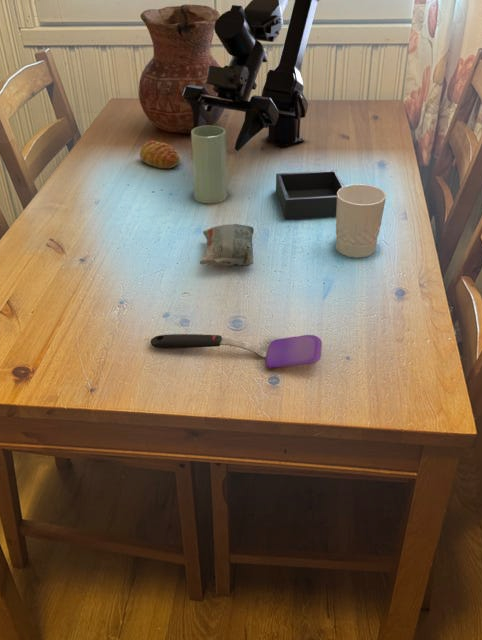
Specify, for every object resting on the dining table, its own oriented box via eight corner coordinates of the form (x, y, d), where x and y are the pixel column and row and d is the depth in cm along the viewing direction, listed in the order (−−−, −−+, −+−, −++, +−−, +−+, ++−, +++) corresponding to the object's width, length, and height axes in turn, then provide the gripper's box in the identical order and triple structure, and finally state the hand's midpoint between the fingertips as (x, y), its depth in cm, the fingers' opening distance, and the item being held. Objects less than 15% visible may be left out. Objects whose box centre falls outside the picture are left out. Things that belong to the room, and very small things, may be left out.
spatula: (145, 359, 95) (143, 344, 94) (157, 330, 100) (156, 316, 99) (318, 376, 92) (320, 362, 90) (322, 346, 97) (323, 331, 95)
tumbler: (215, 186, 139) (213, 122, 131) (233, 198, 135) (232, 132, 127) (188, 194, 136) (184, 129, 128) (205, 206, 132) (202, 140, 124)
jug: (227, 140, 159) (225, 22, 143) (137, 141, 159) (125, 24, 144) (228, 108, 176) (226, 0, 161) (146, 109, 177) (137, 1, 161)
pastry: (188, 164, 148) (187, 146, 146) (164, 173, 145) (163, 156, 142) (160, 152, 154) (158, 136, 151) (136, 161, 150) (134, 144, 148)
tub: (275, 192, 136) (276, 173, 134) (334, 189, 137) (336, 170, 134) (284, 220, 127) (285, 200, 125) (348, 216, 128) (350, 196, 125)
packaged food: (200, 275, 112) (199, 249, 109) (203, 240, 121) (203, 215, 118) (253, 276, 112) (254, 249, 109) (253, 241, 121) (253, 215, 118)
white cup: (382, 241, 120) (389, 187, 114) (374, 263, 114) (381, 207, 108) (337, 234, 122) (342, 181, 116) (327, 256, 116) (332, 201, 110)
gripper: (184, 40, 128) (155, 117, 128) (273, 51, 121) (243, 133, 120) (207, 73, 138) (181, 144, 138) (291, 85, 131) (263, 161, 130)
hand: (215, 145), depth 131 cm, fingers open, 9 cm apart
